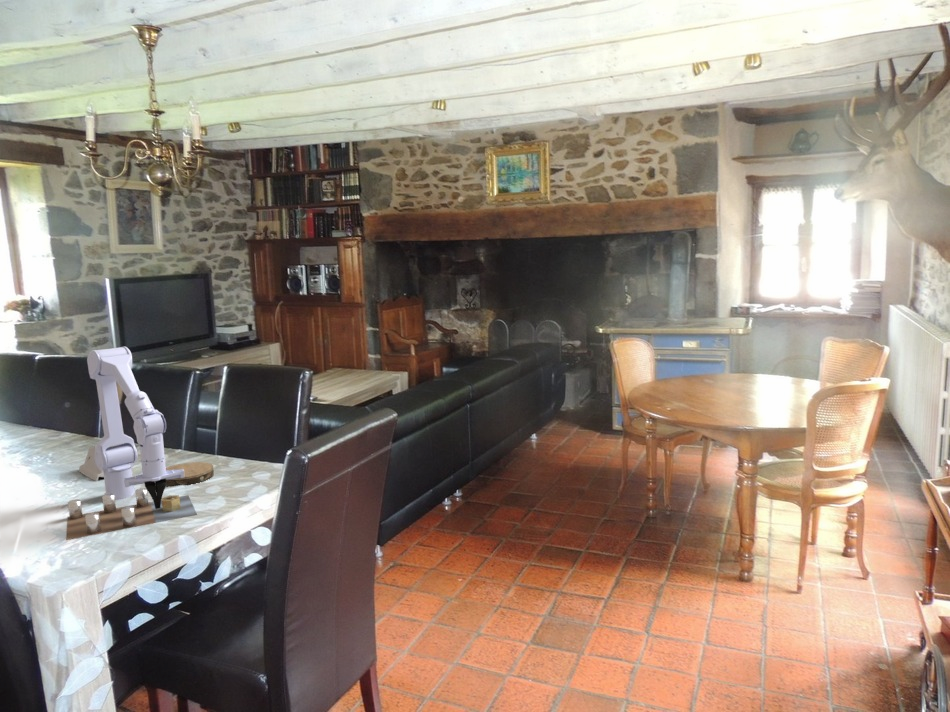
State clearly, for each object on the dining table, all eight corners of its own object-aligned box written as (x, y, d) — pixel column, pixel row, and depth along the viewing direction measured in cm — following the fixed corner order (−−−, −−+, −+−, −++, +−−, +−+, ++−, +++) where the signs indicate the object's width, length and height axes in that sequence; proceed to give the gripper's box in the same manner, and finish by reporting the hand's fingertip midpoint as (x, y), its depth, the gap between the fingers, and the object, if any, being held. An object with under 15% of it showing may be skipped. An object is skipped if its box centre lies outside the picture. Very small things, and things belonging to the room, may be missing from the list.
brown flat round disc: (148, 483, 211) (147, 474, 211) (190, 468, 225) (189, 459, 225) (183, 490, 204) (182, 480, 204) (224, 474, 218) (224, 465, 217)
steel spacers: (69, 516, 181) (67, 500, 181) (148, 502, 191) (146, 487, 190) (68, 538, 167) (66, 521, 166) (153, 522, 176) (152, 505, 175)
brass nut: (161, 507, 187) (160, 496, 186) (178, 504, 189) (177, 493, 188) (163, 513, 182) (162, 502, 182) (180, 509, 184) (180, 499, 184)
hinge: (78, 471, 225) (86, 441, 226) (93, 472, 228) (101, 443, 229) (96, 481, 213) (104, 450, 214) (112, 482, 217) (120, 451, 218)
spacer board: (68, 519, 182) (67, 516, 182) (188, 497, 196) (188, 495, 196) (66, 543, 166) (66, 540, 166) (197, 517, 181) (197, 514, 181)
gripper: (123, 467, 175) (128, 517, 177) (184, 457, 182) (188, 506, 184) (122, 460, 181) (127, 509, 183) (180, 451, 188) (185, 498, 190)
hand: (157, 507), depth 184 cm, fingers closed
